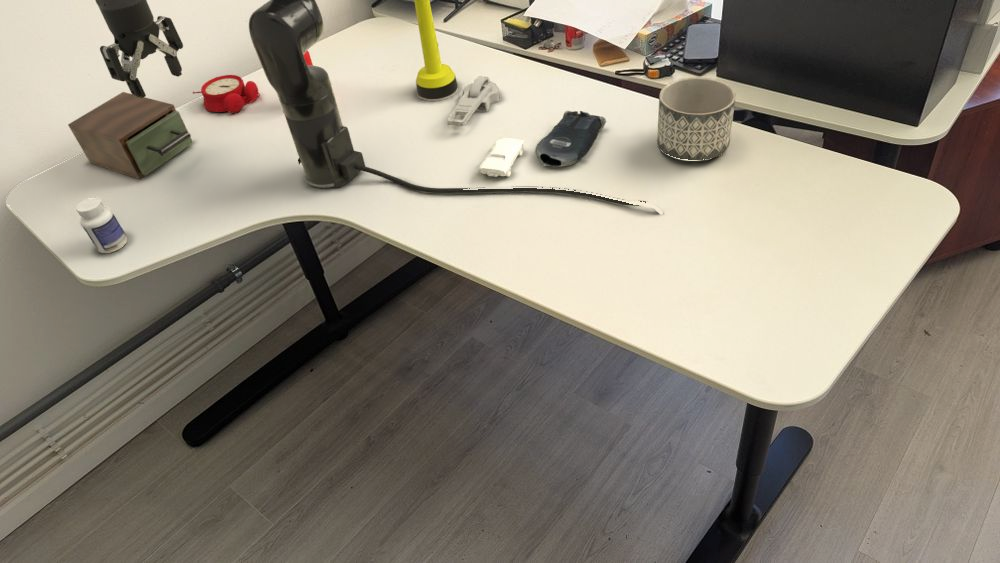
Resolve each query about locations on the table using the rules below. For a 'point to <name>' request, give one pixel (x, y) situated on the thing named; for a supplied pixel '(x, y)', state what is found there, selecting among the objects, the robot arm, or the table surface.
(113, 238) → the pill bottle
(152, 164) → the drawer
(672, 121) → the planter
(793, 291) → the table surface
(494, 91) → the zipper pull
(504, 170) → the toy car
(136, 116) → the cabinet
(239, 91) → the alarm clock
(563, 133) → the electronic device
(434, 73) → the flashlight
